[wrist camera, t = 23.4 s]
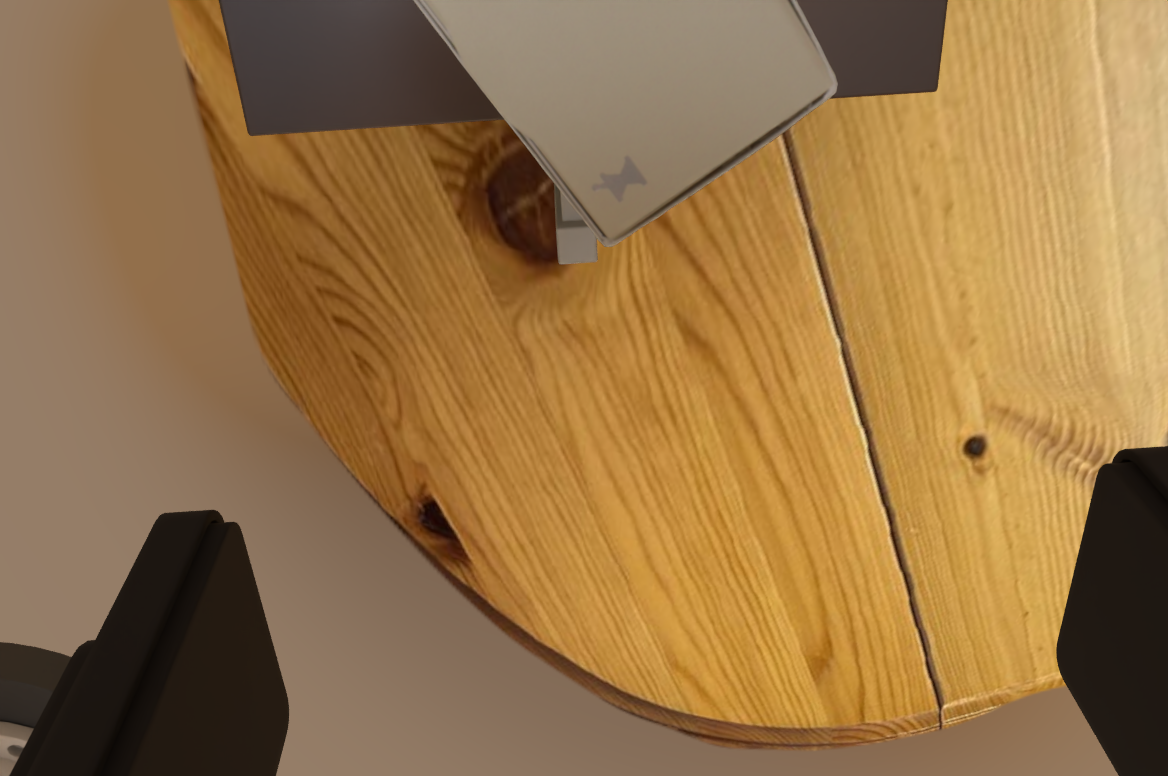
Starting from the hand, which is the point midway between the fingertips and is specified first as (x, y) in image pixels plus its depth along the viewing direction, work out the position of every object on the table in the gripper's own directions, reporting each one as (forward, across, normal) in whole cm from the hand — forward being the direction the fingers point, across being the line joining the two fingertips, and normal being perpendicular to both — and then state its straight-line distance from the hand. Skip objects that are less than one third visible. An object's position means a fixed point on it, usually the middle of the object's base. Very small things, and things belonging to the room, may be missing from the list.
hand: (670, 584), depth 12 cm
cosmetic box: (+18, 0, -5) cm, 19 cm away
